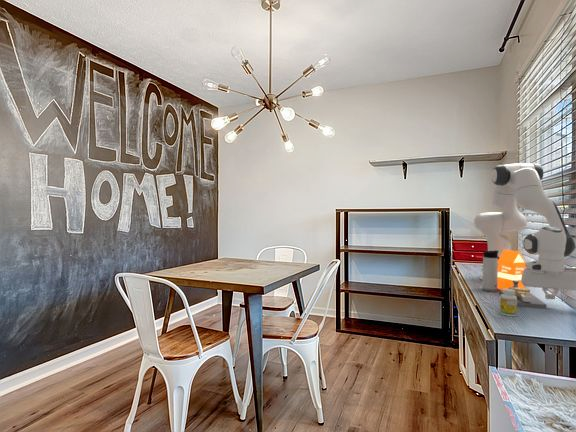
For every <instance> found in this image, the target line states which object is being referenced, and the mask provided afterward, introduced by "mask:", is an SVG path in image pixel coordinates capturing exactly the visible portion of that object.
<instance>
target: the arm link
mask: <svg viewBox="0 0 576 432" xmlns="http://www.w3.org/2000/svg"><path fill="white" fill-rule="evenodd" d="M512 282H513V286H511V287H517V288H520V287H518V283H519V281H517V280H512ZM516 296H517V297H518V298H520V299H521V300H522V301H524V302H531V297H530V296H529V295H528V294H527V293H525V292H516Z"/></svg>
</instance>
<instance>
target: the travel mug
mask: <svg viewBox="0 0 576 432" xmlns="http://www.w3.org/2000/svg"><path fill="white" fill-rule="evenodd" d="M498 252H499V251H488V250H485V251H483V253H482V255H483V257H482V267H483V271H482V274H483V280H482V290H483V291H485V292H492V293H493V292H494V293H495V292H497V291H498V282H497V269H498Z"/></svg>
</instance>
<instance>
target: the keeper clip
mask: <svg viewBox="0 0 576 432" xmlns="http://www.w3.org/2000/svg"><path fill="white" fill-rule="evenodd" d="M509 289H512V290H515V294H514V295H515V296H516V292H528V293H531V290H530V289H529V288H528V287H525V288H517V287H509Z"/></svg>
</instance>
